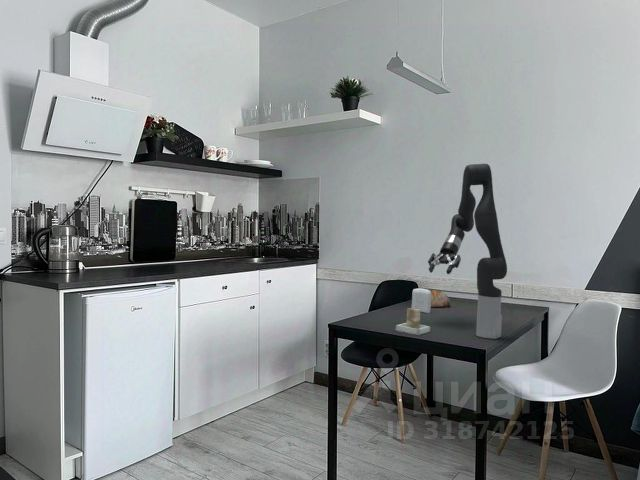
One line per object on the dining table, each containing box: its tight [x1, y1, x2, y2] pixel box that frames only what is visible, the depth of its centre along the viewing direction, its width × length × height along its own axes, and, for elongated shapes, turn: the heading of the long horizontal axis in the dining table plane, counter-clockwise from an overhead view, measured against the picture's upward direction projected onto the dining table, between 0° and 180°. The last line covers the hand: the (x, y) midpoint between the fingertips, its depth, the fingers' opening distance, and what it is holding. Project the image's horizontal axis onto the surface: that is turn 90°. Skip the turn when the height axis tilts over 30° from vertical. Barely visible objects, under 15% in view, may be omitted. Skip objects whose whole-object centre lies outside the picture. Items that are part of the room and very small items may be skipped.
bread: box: [428, 289, 451, 309], centre depth 287 cm, size 16×20×10 cm
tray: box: [395, 322, 431, 336], centre depth 215 cm, size 11×10×2 cm
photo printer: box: [411, 287, 432, 314], centre depth 265 cm, size 10×4×12 cm, turn 56°
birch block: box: [405, 307, 421, 329], centre depth 215 cm, size 4×4×9 cm
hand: (438, 272), depth 227 cm, fingers open, 8 cm apart
